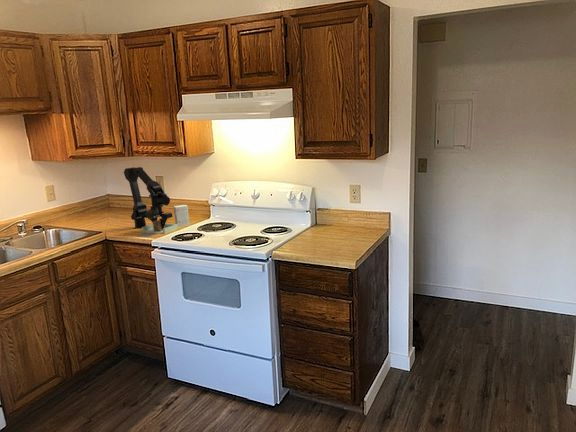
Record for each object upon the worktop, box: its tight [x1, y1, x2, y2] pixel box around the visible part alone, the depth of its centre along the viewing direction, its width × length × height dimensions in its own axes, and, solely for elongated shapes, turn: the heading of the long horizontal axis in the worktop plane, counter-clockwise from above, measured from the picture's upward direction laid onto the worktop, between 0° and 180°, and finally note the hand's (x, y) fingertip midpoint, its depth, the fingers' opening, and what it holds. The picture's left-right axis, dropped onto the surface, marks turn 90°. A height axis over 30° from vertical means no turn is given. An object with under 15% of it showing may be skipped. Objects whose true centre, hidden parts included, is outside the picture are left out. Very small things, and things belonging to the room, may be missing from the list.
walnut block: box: [152, 219, 165, 231], centre depth 295 cm, size 5×5×6 cm
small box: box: [173, 204, 191, 228], centre depth 306 cm, size 8×6×13 cm
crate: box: [141, 223, 179, 234], centre depth 295 cm, size 18×12×3 cm, turn 64°
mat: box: [136, 232, 159, 238], centre depth 285 cm, size 10×9×1 cm
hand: (159, 228), depth 295 cm, fingers closed on walnut block, 5 cm apart
